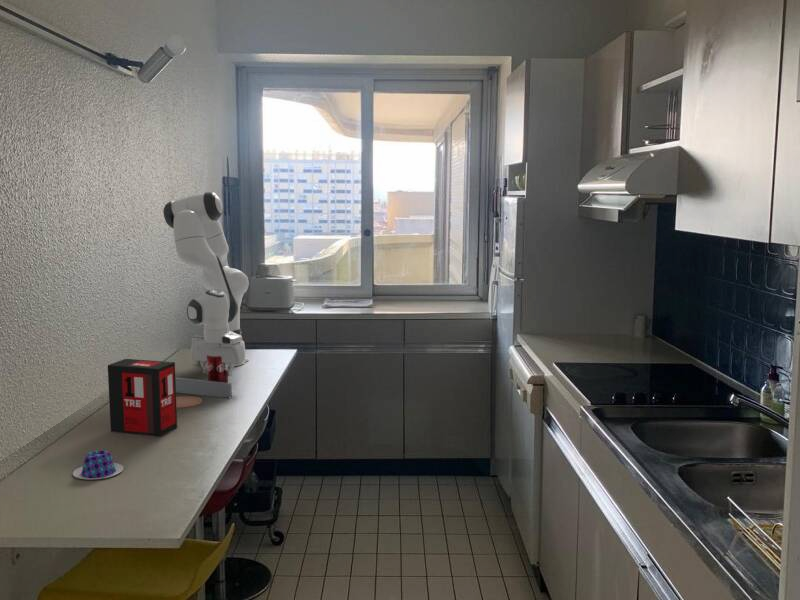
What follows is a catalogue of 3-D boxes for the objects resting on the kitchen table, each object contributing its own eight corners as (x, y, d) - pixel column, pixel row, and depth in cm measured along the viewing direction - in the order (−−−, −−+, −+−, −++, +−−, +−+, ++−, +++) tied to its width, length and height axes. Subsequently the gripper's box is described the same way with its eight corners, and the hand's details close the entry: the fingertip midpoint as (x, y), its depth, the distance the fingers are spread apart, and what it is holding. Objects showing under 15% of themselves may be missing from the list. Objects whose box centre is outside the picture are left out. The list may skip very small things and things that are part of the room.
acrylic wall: (170, 391, 282) (169, 377, 282) (172, 390, 283) (171, 377, 282) (230, 398, 274) (229, 383, 273) (231, 397, 275) (231, 383, 274)
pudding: (107, 461, 213) (106, 442, 212) (133, 472, 205) (132, 452, 205) (63, 474, 204) (62, 454, 203) (89, 486, 196) (88, 465, 195)
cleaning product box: (110, 431, 237) (107, 365, 234) (128, 423, 246) (125, 358, 243) (160, 436, 233) (158, 369, 230) (177, 427, 241) (174, 362, 238)
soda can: (230, 384, 292) (230, 352, 290) (225, 390, 285) (224, 356, 283) (211, 384, 293) (210, 351, 291) (204, 389, 286) (203, 356, 284)
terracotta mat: (155, 401, 270) (155, 400, 270) (193, 395, 278) (193, 394, 278) (169, 410, 260) (169, 409, 260) (208, 403, 267) (208, 402, 267)
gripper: (186, 335, 287) (187, 374, 289) (236, 340, 280) (237, 379, 282) (196, 332, 292) (197, 370, 294) (246, 336, 286) (247, 375, 288)
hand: (217, 374), depth 288 cm, fingers open, 8 cm apart
